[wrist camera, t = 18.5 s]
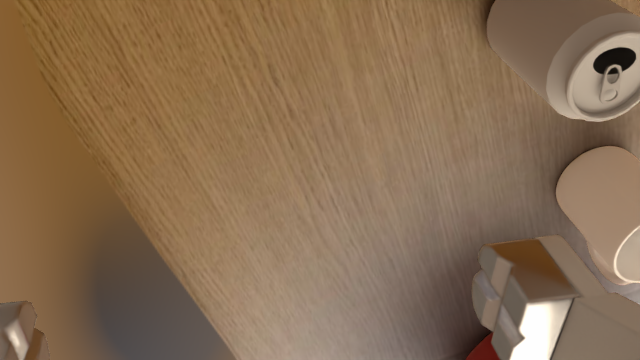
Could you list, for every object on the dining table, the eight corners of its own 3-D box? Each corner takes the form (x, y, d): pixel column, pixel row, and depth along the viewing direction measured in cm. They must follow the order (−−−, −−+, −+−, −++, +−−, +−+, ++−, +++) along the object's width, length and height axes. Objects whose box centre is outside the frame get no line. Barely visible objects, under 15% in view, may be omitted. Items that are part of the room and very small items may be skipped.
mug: (610, 232, 63) (674, 303, 55) (538, 244, 62) (592, 318, 54) (642, 137, 56) (721, 202, 48) (562, 148, 55) (628, 217, 47)
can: (582, -38, 45) (691, 17, 35) (559, 54, 49) (650, 126, 40) (490, -32, 44) (576, 27, 34) (475, 62, 48) (547, 137, 39)
